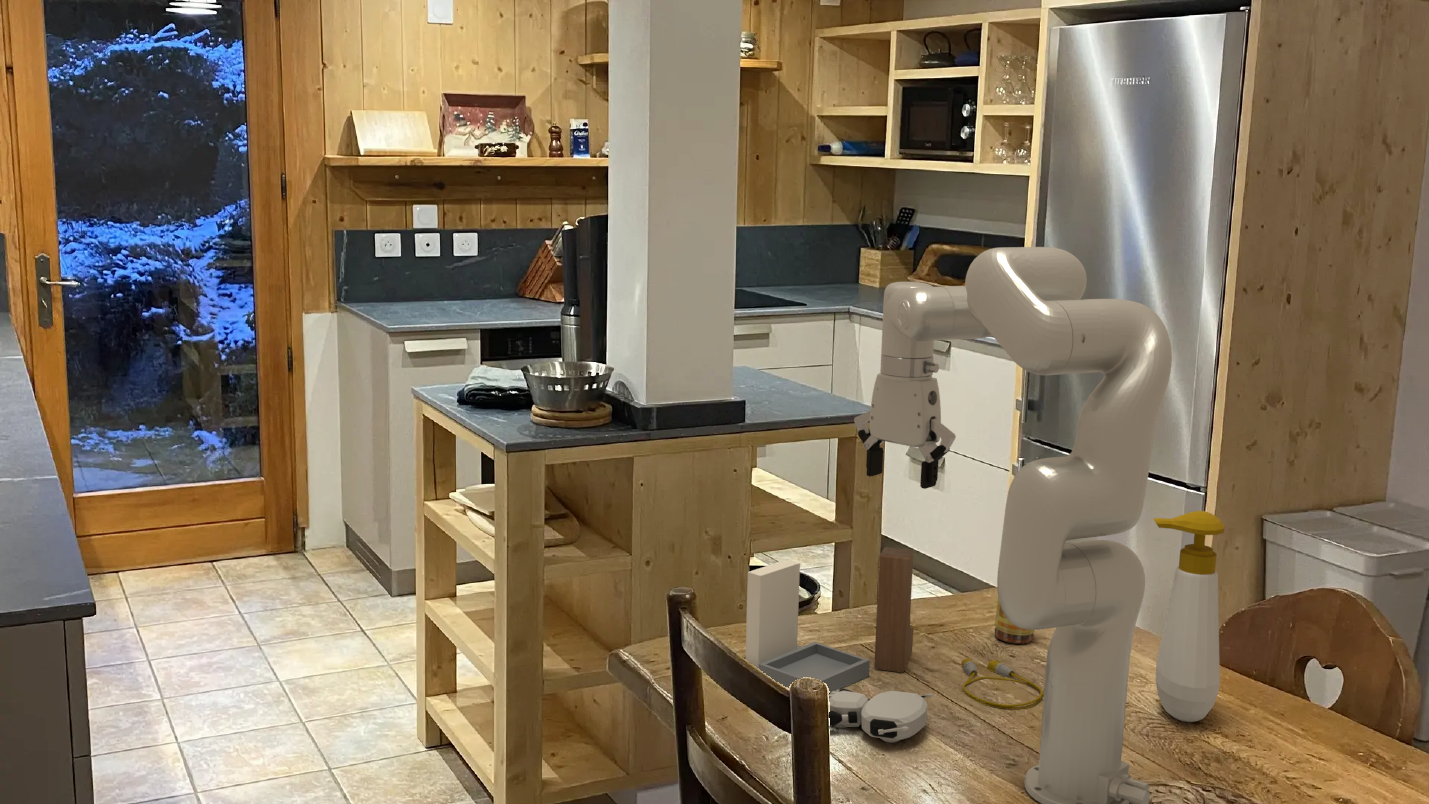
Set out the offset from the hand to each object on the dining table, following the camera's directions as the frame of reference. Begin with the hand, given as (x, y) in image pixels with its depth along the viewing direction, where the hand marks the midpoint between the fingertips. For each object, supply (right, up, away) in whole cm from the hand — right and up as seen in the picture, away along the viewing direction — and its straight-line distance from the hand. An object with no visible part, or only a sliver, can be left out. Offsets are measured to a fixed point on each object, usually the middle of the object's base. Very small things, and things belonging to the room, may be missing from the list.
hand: (900, 480), depth 199 cm
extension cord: (+14, -31, -4) cm, 34 cm away
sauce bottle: (+20, -26, +16) cm, 37 cm away
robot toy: (-7, -33, -19) cm, 38 cm away
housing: (-15, -29, 0) cm, 32 cm away
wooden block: (0, -28, +5) cm, 29 cm away
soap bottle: (+37, -32, -11) cm, 50 cm away
